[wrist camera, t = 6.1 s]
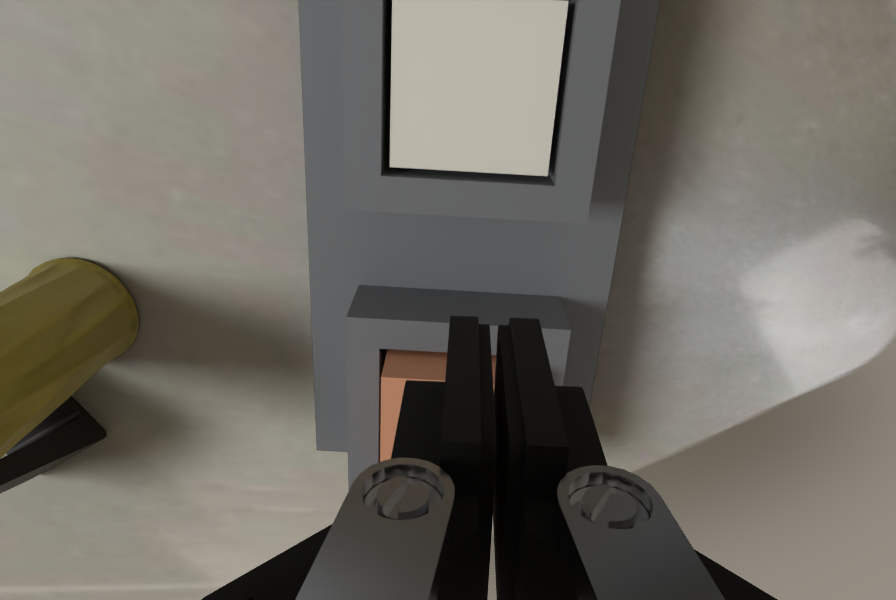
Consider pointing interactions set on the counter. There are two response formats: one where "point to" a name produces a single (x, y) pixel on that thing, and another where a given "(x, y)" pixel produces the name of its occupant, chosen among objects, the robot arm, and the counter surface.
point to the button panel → (457, 213)
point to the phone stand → (50, 444)
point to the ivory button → (475, 84)
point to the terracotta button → (393, 382)
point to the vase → (57, 339)
